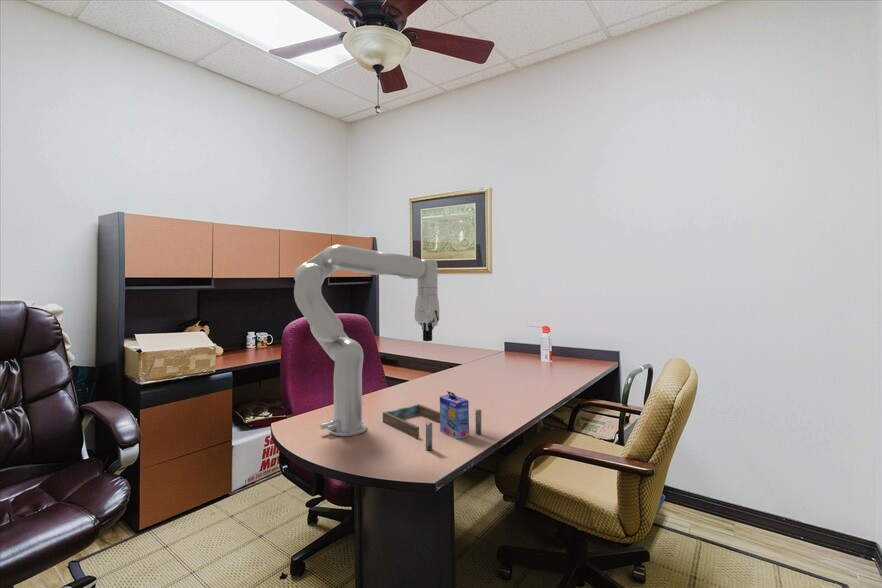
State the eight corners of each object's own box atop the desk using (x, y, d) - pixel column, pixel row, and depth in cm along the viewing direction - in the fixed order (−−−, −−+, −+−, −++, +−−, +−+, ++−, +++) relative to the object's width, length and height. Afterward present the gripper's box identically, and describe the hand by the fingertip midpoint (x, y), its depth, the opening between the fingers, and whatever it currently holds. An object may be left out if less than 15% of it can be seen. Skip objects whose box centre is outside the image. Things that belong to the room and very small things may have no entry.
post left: (428, 451, 127) (428, 425, 126) (424, 449, 128) (424, 423, 128) (433, 449, 128) (433, 423, 128) (429, 447, 130) (429, 422, 129)
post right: (478, 435, 140) (478, 411, 140) (474, 433, 141) (474, 410, 141) (482, 434, 141) (482, 410, 141) (478, 432, 143) (478, 409, 143)
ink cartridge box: (438, 431, 144) (438, 389, 143) (451, 428, 147) (451, 387, 147) (456, 440, 136) (456, 395, 136) (469, 436, 139) (469, 393, 139)
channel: (416, 438, 137) (416, 427, 137) (382, 421, 154) (382, 412, 154) (453, 427, 148) (453, 417, 148) (418, 413, 164) (418, 404, 164)
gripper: (408, 292, 161) (408, 339, 162) (431, 292, 150) (431, 344, 150) (423, 291, 166) (423, 337, 167) (447, 292, 154) (447, 342, 155)
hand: (427, 340), depth 158 cm, fingers closed
